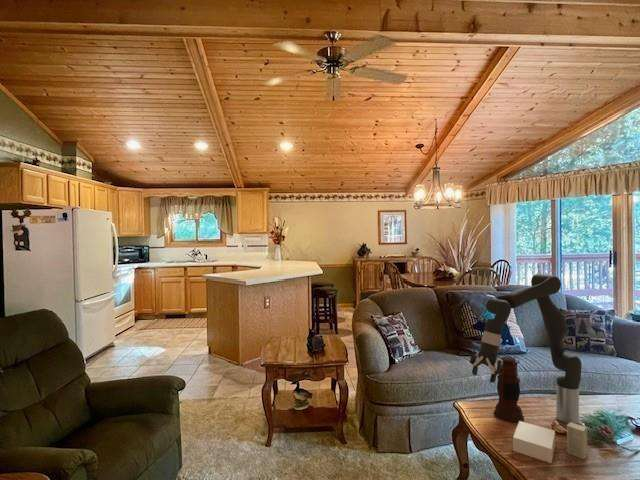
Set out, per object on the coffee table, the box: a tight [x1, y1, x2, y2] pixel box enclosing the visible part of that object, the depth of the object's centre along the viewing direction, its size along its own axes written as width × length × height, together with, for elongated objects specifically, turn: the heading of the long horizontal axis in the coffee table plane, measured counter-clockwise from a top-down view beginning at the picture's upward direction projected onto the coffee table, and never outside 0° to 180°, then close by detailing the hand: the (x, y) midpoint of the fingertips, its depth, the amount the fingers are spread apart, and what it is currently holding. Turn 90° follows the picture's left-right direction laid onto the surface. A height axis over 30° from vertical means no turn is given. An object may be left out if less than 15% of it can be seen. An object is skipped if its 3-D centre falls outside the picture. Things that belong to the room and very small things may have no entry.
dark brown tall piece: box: [493, 356, 525, 424], centre depth 182 cm, size 17×14×30 cm
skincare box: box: [566, 422, 588, 460], centre depth 151 cm, size 6×4×12 cm
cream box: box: [512, 421, 556, 464], centre depth 157 cm, size 16×14×6 cm
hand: (482, 378), depth 160 cm, fingers open, 8 cm apart
